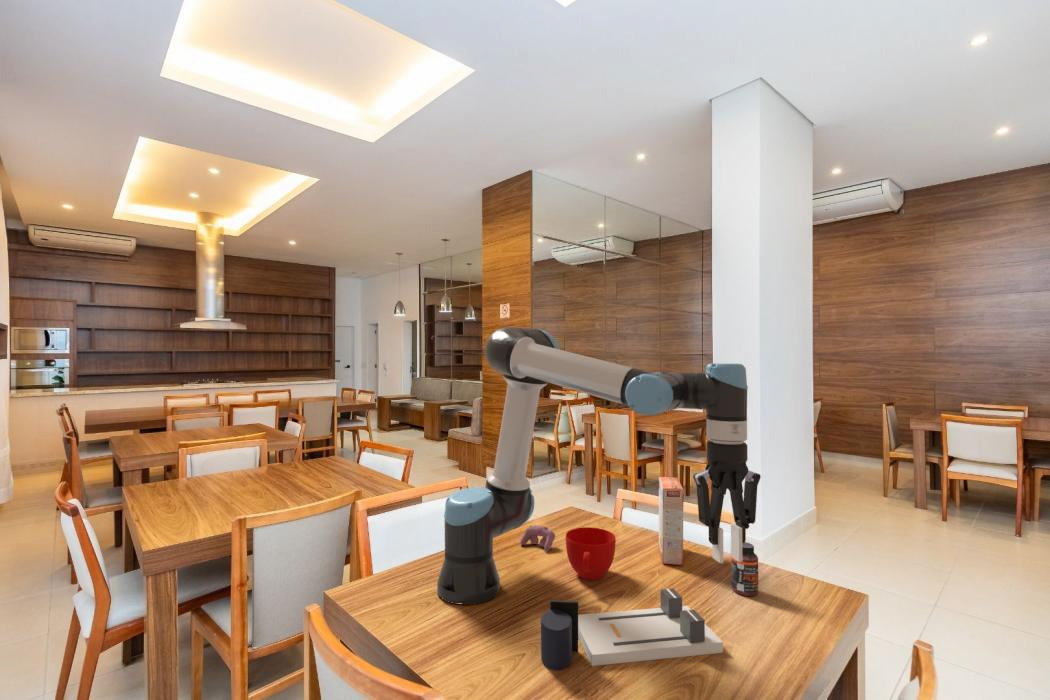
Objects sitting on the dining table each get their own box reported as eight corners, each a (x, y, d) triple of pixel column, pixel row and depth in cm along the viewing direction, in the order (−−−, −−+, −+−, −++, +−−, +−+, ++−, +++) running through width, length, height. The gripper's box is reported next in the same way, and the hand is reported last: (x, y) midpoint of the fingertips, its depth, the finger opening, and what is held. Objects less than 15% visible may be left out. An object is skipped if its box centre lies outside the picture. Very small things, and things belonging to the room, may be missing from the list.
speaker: (551, 642, 96) (551, 592, 95) (578, 651, 94) (579, 600, 93) (535, 668, 90) (535, 614, 89) (564, 678, 87) (565, 624, 86)
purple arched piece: (553, 554, 144) (558, 529, 147) (546, 551, 141) (552, 526, 144) (525, 547, 149) (530, 523, 152) (518, 545, 146) (523, 521, 149)
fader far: (668, 617, 102) (668, 598, 102) (660, 608, 106) (660, 589, 106) (682, 616, 102) (682, 597, 102) (673, 606, 106) (673, 588, 106)
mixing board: (592, 665, 89) (592, 654, 89) (572, 624, 103) (572, 614, 103) (723, 652, 93) (723, 641, 93) (687, 614, 107) (687, 605, 107)
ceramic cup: (559, 589, 119) (559, 548, 119) (569, 561, 135) (569, 525, 135) (613, 596, 116) (613, 553, 116) (616, 566, 132) (616, 529, 132)
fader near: (690, 642, 93) (690, 621, 93) (680, 630, 97) (679, 610, 97) (704, 641, 93) (704, 619, 93) (694, 629, 97) (694, 609, 97)
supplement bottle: (745, 599, 114) (744, 550, 114) (725, 588, 120) (725, 541, 120) (764, 594, 117) (763, 547, 117) (744, 584, 122) (744, 538, 122)
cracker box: (684, 566, 132) (684, 489, 132) (661, 564, 133) (661, 487, 134) (679, 547, 146) (678, 476, 146) (658, 545, 147) (657, 475, 147)
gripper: (697, 445, 92) (698, 570, 92) (776, 443, 95) (777, 564, 94) (679, 438, 99) (679, 554, 99) (752, 436, 102) (753, 549, 102)
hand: (727, 559), depth 97 cm, fingers open, 3 cm apart
